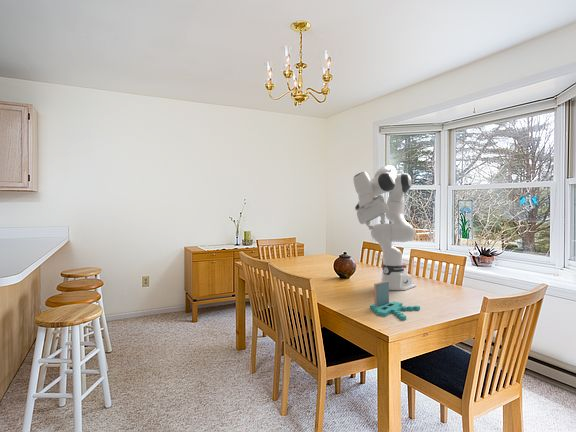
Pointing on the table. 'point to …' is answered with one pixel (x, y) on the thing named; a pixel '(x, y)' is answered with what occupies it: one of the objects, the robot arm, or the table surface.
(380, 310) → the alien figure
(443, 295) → the table surface
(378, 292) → the tile
